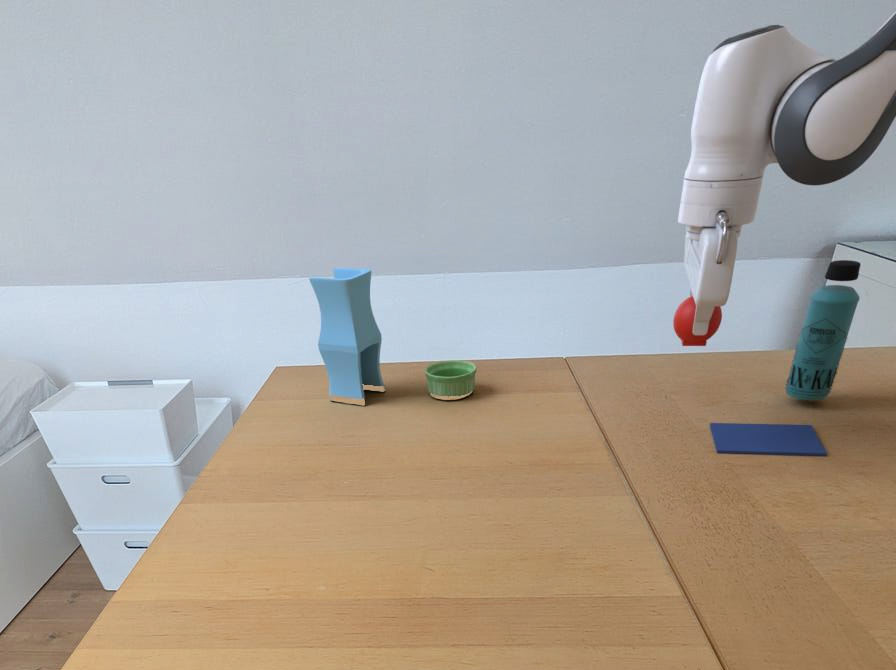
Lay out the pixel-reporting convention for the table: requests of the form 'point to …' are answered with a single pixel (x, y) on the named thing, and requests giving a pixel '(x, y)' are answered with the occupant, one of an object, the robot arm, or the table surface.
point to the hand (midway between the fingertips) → (696, 325)
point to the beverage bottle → (824, 334)
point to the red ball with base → (685, 323)
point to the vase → (348, 332)
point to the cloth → (766, 439)
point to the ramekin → (451, 378)
